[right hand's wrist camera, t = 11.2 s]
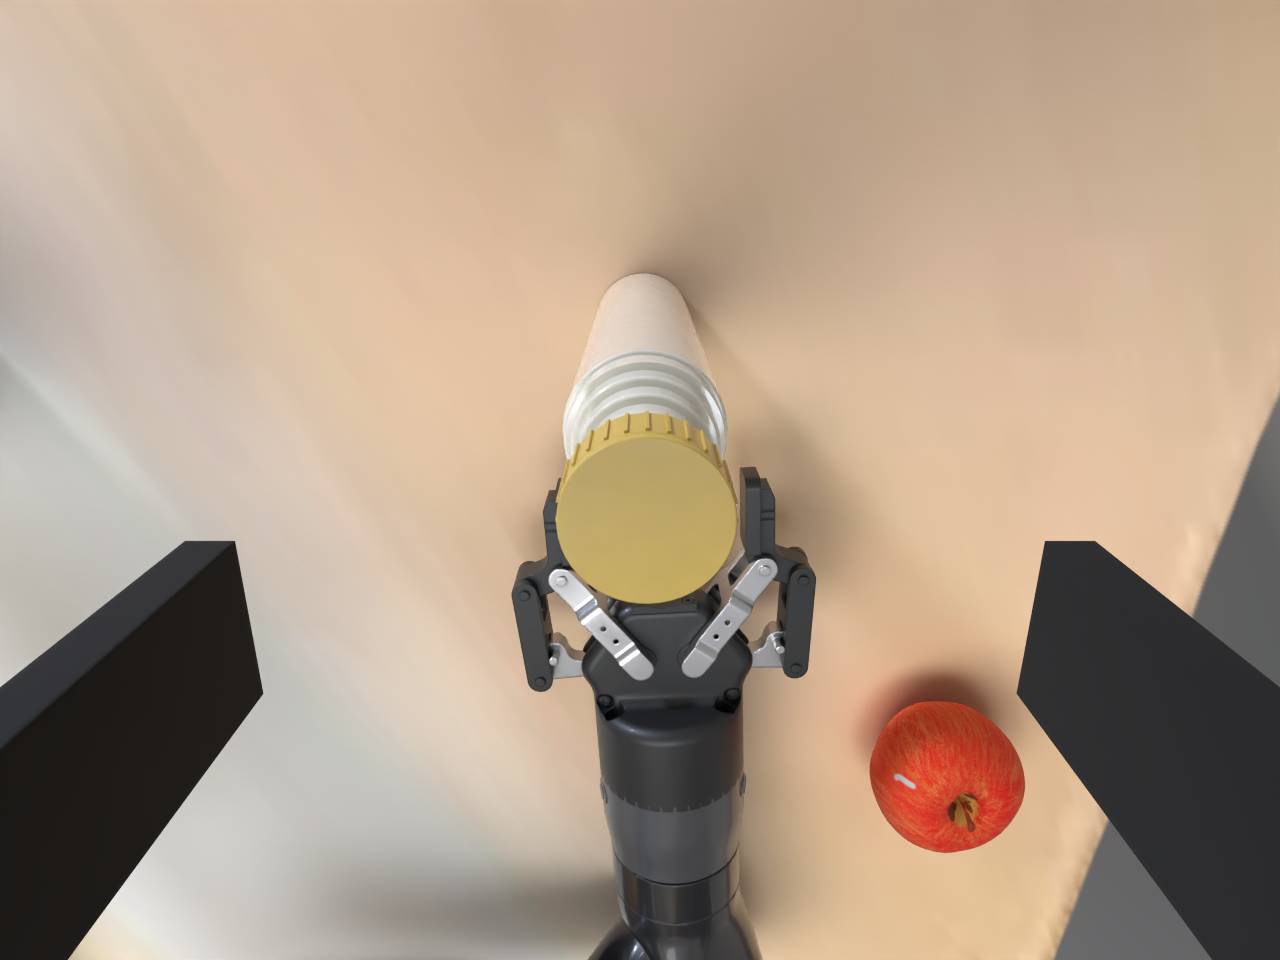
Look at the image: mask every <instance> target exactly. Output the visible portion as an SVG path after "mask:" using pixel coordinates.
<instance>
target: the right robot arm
mask: <svg viewBox="0 0 1280 960" xmlns="http://www.w3.org/2000/svg"><path fill="white" fill-rule="evenodd" d="M262 695H263V690H262V684H261V679H260V673H259V668H258V663H257V657H256V652H255V647H254V641H253V636H252V630H251V625H250V620H249V614H248V609H247V603H246V598H245V593H244V587H243V582H242V577H241V571H240V566H239V560H238V555H237V550H236V544H235V541H185V542H183V543H182V544H181V545H179V546H178V547H177V548H176V549H174V550H173V551H172V552H171V553H169V554H168V555H167V556H166V557H164V558H163V559H162V560H161V561H159V562H158V563H157V564H155V565H154V566H153V567H152V568H150V569H149V570H148V571H147V572H145V573H144V574H143V575H142V576H140V577H139V578H138V579H137V580H135V581H134V582H133V583H131V584H130V585H129V586H128V587H126V588H125V589H124V590H123V591H121V592H120V593H119V594H118V595H116V596H115V597H114V598H113V599H111V600H110V601H109V602H107V603H106V604H105V605H104V606H102V607H101V608H100V609H99V610H97V611H96V612H95V613H94V614H92V615H91V616H90V617H89V618H87V619H86V620H85V621H83V622H82V623H81V624H80V625H78V626H77V627H76V628H75V629H73V630H72V631H71V632H70V633H68V634H67V635H66V636H65V637H63V638H62V639H61V640H59V641H58V642H57V643H56V644H54V645H53V646H52V647H51V648H49V649H48V650H47V651H46V652H44V653H43V654H42V655H41V656H39V657H38V658H37V659H35V660H34V661H33V662H32V663H30V664H29V665H28V666H27V667H25V668H24V669H23V670H22V671H20V672H19V673H18V674H17V675H15V676H14V677H13V678H11V679H10V680H9V681H8V682H6V683H5V684H4V685H3V686H1V687H0V960H68V959H69V957H70V956H71V954H72V953H73V952H74V950H75V949H76V948H77V946H78V945H79V944H80V942H81V941H82V940H83V938H84V937H85V935H86V934H87V933H88V931H89V930H90V929H91V927H92V926H93V925H94V923H95V922H96V920H97V919H98V918H99V916H100V915H101V914H102V912H103V911H104V910H105V908H106V907H107V906H108V904H109V903H110V901H111V900H112V899H113V897H114V896H115V895H116V893H117V892H118V891H119V889H120V888H121V886H122V885H123V884H124V882H125V881H126V880H127V878H128V877H129V876H130V874H131V873H132V871H133V870H134V869H135V867H136V866H137V865H138V863H139V862H140V861H141V859H142V858H143V857H144V855H145V854H146V852H147V851H148V850H149V848H150V847H151V846H152V844H153V843H154V842H155V840H156V839H157V837H158V836H159V835H160V833H161V832H162V831H163V829H164V828H165V827H166V825H167V824H168V823H169V821H170V820H171V818H172V817H173V816H174V814H175V813H176V812H177V810H178V809H179V808H180V806H181V805H182V803H183V802H184V801H185V799H186V798H187V797H188V795H189V794H190V793H191V791H192V790H193V788H194V787H195V786H196V784H197V783H198V782H199V780H200V779H201V778H202V776H203V775H204V774H205V772H206V771H207V769H208V768H209V767H210V765H211V764H212V763H213V761H214V760H215V759H216V757H217V756H218V754H219V753H220V752H221V750H222V749H223V748H224V746H225V745H226V744H227V742H228V741H229V739H230V738H231V737H232V735H233V734H234V733H235V731H236V730H237V729H238V727H239V726H240V725H241V723H242V722H243V720H244V719H245V718H246V716H247V715H248V714H249V712H250V711H251V710H252V708H253V707H254V705H255V704H256V703H257V701H258V700H259V699H260V697H261V696H262ZM1017 695H1018V696H1019V697H1020V699H1021V700H1022V701H1023V703H1024V704H1025V705H1026V707H1027V708H1028V710H1029V711H1030V712H1031V714H1032V715H1033V716H1034V718H1035V719H1036V720H1037V722H1038V723H1039V725H1040V726H1041V727H1042V729H1043V730H1044V731H1045V733H1046V734H1047V735H1048V737H1049V738H1050V740H1051V741H1052V742H1053V744H1054V745H1055V746H1056V748H1057V749H1058V750H1059V752H1060V753H1061V754H1062V756H1063V757H1064V759H1065V760H1066V761H1067V763H1068V764H1069V765H1070V767H1071V768H1072V769H1073V771H1074V772H1075V774H1076V775H1077V776H1078V778H1079V779H1080V780H1081V782H1082V783H1083V784H1084V786H1085V787H1086V788H1087V790H1088V791H1089V793H1090V794H1091V795H1092V797H1093V798H1094V799H1095V801H1096V802H1097V803H1098V805H1099V806H1100V808H1101V809H1102V810H1103V812H1104V813H1105V814H1106V816H1107V817H1108V818H1109V820H1110V821H1111V823H1112V824H1113V825H1114V827H1115V828H1116V829H1117V831H1118V832H1119V833H1120V835H1121V836H1122V837H1123V839H1124V840H1125V842H1126V843H1127V844H1128V846H1129V847H1130V848H1131V850H1132V851H1133V852H1134V854H1135V855H1136V857H1137V858H1138V859H1139V861H1140V862H1141V863H1142V865H1143V866H1144V867H1145V869H1146V870H1147V871H1148V873H1149V874H1150V876H1151V877H1152V878H1153V880H1154V881H1155V882H1156V884H1157V885H1158V886H1159V888H1160V889H1161V890H1162V892H1163V893H1164V895H1165V896H1166V897H1167V899H1168V900H1169V901H1170V903H1171V904H1172V906H1173V907H1174V908H1175V910H1176V911H1177V912H1178V914H1179V915H1180V916H1181V918H1182V919H1183V920H1184V922H1185V923H1186V925H1187V926H1188V927H1189V929H1190V930H1191V931H1192V933H1193V934H1194V935H1195V937H1196V938H1197V940H1198V941H1199V942H1200V944H1201V945H1202V946H1203V948H1204V949H1205V950H1206V952H1207V953H1208V955H1209V956H1210V957H1211V959H1212V960H1280V687H1279V686H1277V685H1276V684H1275V683H1274V682H1272V681H1271V680H1270V679H1268V678H1267V677H1266V676H1265V675H1263V674H1262V673H1261V672H1260V671H1258V670H1257V669H1256V668H1255V667H1253V666H1252V665H1251V664H1250V663H1248V662H1247V661H1246V660H1244V659H1243V658H1242V657H1241V656H1239V655H1238V654H1237V653H1236V652H1234V651H1233V650H1232V649H1231V648H1229V647H1228V646H1227V645H1226V644H1224V643H1223V642H1222V641H1220V640H1219V639H1218V638H1217V637H1215V636H1214V635H1213V634H1212V633H1210V632H1209V631H1208V630H1207V629H1205V628H1204V627H1203V626H1202V625H1200V624H1199V623H1198V622H1196V621H1195V620H1194V619H1193V618H1191V617H1190V616H1189V615H1188V614H1186V613H1185V612H1184V611H1183V610H1181V609H1180V608H1179V607H1178V606H1176V605H1175V604H1174V603H1172V602H1171V601H1170V600H1169V599H1167V598H1166V597H1165V596H1164V595H1162V594H1161V593H1160V592H1159V591H1157V590H1156V589H1155V588H1154V587H1152V586H1151V585H1150V584H1148V583H1147V582H1146V581H1145V580H1143V579H1142V578H1141V577H1140V576H1138V575H1137V574H1136V573H1135V572H1133V571H1132V570H1131V569H1130V568H1128V567H1127V566H1126V565H1124V564H1123V563H1122V562H1121V561H1119V560H1118V559H1117V558H1116V557H1114V556H1113V555H1112V554H1111V553H1109V552H1108V551H1107V550H1106V549H1104V548H1103V547H1102V546H1100V545H1099V544H1098V543H1097V542H1095V541H1045V544H1044V550H1043V555H1042V560H1041V566H1040V571H1039V576H1038V582H1037V587H1036V593H1035V598H1034V603H1033V609H1032V614H1031V620H1030V625H1029V630H1028V636H1027V641H1026V646H1025V652H1024V657H1023V663H1022V668H1021V673H1020V679H1019V684H1018V690H1017Z"/></svg>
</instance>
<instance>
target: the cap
mask: <svg viewBox="0 0 1280 960" xmlns="http://www.w3.org/2000/svg"><path fill="white" fill-rule="evenodd" d="M556 502H557V503H558V506H557V513H556V518H555V522H556V528H557V534H558V539H559V542H560V546H561V549H562V551H563V553H564V555H565V557H566V559H567V561H568V562H569V564H570V565H571V567H572V568H573V569H574V570H575V572H576V573H577V574H578V575H579V576H580V577H581V578H582V579H583V580H584V581H585V582H586V583H588V584H589V585H590V586H592V587H593V588H595V589H596V590H598V591H600V592H602V593H603V594H605V595H608V596H610V597H613V598H615V599H618V600H622V601H626V602H632V603H641V604H652V603H662V602H667V601H671V600H675V599H678V598H681V597H683V596H685V595H688V594H690V593H692V592H694V591H695V590H697V589H698V588H700V587H702V586H703V585H704V584H705V583H707V582H708V581H709V580H710V579H711V578H712V577H713V576H714V575H715V574H716V573H717V572H718V571H719V570H720V568H721V567H722V565H723V564H724V563H725V561H726V559H727V557H728V556H729V554H730V552H731V549H732V546H733V544H734V541H735V536H736V531H737V523H738V519H737V508H736V504H737V503H738V502H737V498H736V494H735V491H734V488H733V483H732V480H731V476H730V473H729V470H728V466H727V463H726V461H725V460H724V461H723V460H722V458H721V457H720V453H719V450H718V446H717V445H716V444H714V445H713V444H712V443H711V441H710V440H709V439H708V438H707V437H706V436H705V432H704V431H703V430H701V431H699V430H698V429H696V428H695V427H693V426H692V425H690V424H689V423H688V420H686V419H684V421H682V420H680V419H677V418H675V417H671V416H669V413H665V415H664V414H657V413H649V410H645V413H636V414H629V413H628V412H627V413H625V416H621V417H618V418H615V419H613V420H610V419H607V420H606V422H605V424H603V425H601V426H599V427H598V428H597V429H595V430H594V431H593V429H591V430H590V431H589V434H588V436H587V437H586V438H585V439H584V440H583V441H582V442H581V444H579V443H577V444H576V447H575V451H574V454H573V455H572V457H571V460H569V459H568V460H567V462H566V466H565V469H564V473H563V477H562V479H561V483H560V487H559V490H558V494H557V498H556Z"/></svg>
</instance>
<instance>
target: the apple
mask: <svg viewBox="0 0 1280 960" xmlns="http://www.w3.org/2000/svg"><path fill="white" fill-rule="evenodd" d="M870 779H871V785H872V789H873V792H874V795H875V798H876V801H877V803H878V805H879V807H880V809H881V811H882V813H883V815H884V816H885V818H886V820H887V821H888V822H889V824H890V825H891V826H892V827H893V828H894V829H895V830H896V831H897V832H898V833H899V834H900V835H901V836H902V837H904V838H905V839H906V840H908V841H909V842H911V843H913V844H914V845H917V846H919V847H921V848H924V849H927V850H931V851H935V852H942V853H951V852H958V851H963V850H969V849H972V848H975V847H978V846H981V845H983V844H985V843H987V842H989V841H990V840H992V839H993V838H995V837H996V836H998V835H999V834H1000V833H1001V832H1002V831H1003V830H1004V829H1005V828H1006V827H1007V826H1008V825H1009V824H1010V822H1011V821H1012V820H1013V818H1014V817H1015V815H1016V813H1017V812H1018V810H1019V808H1020V806H1021V804H1022V800H1023V797H1024V791H1025V779H1024V772H1023V768H1022V764H1021V762H1020V759H1019V756H1018V754H1017V752H1016V750H1015V748H1014V747H1013V745H1012V743H1011V742H1010V741H1009V739H1008V738H1007V737H1006V735H1005V734H1004V733H1003V732H1002V731H1001V730H1000V729H999V728H998V727H997V726H996V725H995V724H994V723H993V722H992V721H990V720H989V719H988V718H987V717H985V716H984V715H982V714H981V713H979V712H978V711H976V710H974V709H972V708H970V707H968V706H965V705H962V704H959V703H954V702H942V701H928V702H920V703H916V704H913V705H911V706H909V707H907V708H905V709H903V710H902V711H900V712H899V713H898V714H897V715H895V716H894V717H893V718H892V720H891V721H890V722H889V723H888V724H887V725H886V727H885V728H884V730H883V731H882V733H881V735H880V737H879V739H878V741H877V743H876V745H875V748H874V750H873V753H872V757H871V762H870Z"/></svg>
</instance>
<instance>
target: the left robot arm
mask: <svg viewBox="0 0 1280 960" xmlns="http://www.w3.org/2000/svg"><path fill="white" fill-rule="evenodd" d="M561 479H562V478H559V479H558V483H557V487H556V490H549V493H548V496H547V499H546V502H545V506H544V510H543V517H544V527H545V536H546V546H547V556H546V557H545V558H544V559H542V560H539V561H537V562H533V561H527V562H524V563H523V564H521V565H520V567H519V570H518V573H517V576H516V580H515V583H514V587H513V590H512V600H513V606H514V611H515V616H516V621H517V627H518V632H519V637H520V643H521V648H522V653H523V658H524V664H525V669H526V674H527V680H528V684H529V686H530V687H531V688H532V689H533V690H535V691H538V692H543V691H546V690H548V689H549V688H550V687H551V686H552V682H553V679H560V678H570V677H580V676H584V677H585V679H586V680H587V681H588V683H589V684H590V685H591V687H592V689H593V692H594V697H595V709H596V721H597V733H598V744H599V756H600V768H601V780H600V790H601V795H602V798H603V802H604V810H605V815H606V820H607V824H608V827H609V831H610V835H611V842H612V852H613V864H614V877H615V889H616V895H617V900H618V904H619V909H620V912H621V915H622V918H621V919H620V920H618V921H617V923H616V924H615V925H614V926H613V927H612V928H611V929H610V931H609V932H608V933H607V934H606V936H605V937H604V938H603V940H602V941H601V942H600V944H599V945H598V946H597V948H596V949H595V950H594V952H593V953H592V954H591V956H590V957H589V958H588V960H763V959H762V955H761V952H760V949H759V945H758V942H757V939H756V935H755V932H754V929H753V925H752V922H751V919H750V915H749V913H748V910H747V908H746V905H745V903H744V900H743V897H742V895H741V892H740V864H739V835H740V825H741V820H742V812H743V801H744V792H745V783H746V776H745V773H744V771H743V693H742V688H743V682H744V680H745V677H746V676H747V674H748V672H749V671H750V669H751V668H783V670H784V673H785V674H786V675H787V676H788V677H790V678H799V677H802V676H803V675H804V674H805V673H806V672H807V670H808V662H809V651H810V640H811V629H812V618H813V607H814V596H815V585H816V576H815V574H814V572H813V570H812V568H811V567H810V565H809V563H808V560H807V557H806V554H805V552H804V551H803V550H802V549H801V548H799V547H790V548H784V547H781V546H778V545H776V544H775V497H774V495H773V493H772V491H771V488H770V486H769V484H768V482H767V479H766V478H762V479H760V477H759V474H758V472H757V470H756V467H744V468H740V534H741V540H742V543H743V546H744V547H743V548H742V550H741V551H740V552H739V554H738V555H737V556H736V557H735V559H734V560H733V561H732V562H731V564H730V565H729V566H728V567H725V568H723V569H721V571H720V572H719V573H718V574H717V576H716V577H715V578H714V579H713V581H712V582H711V583H710V584H709V586H708V587H707V588H706V589H705V591H702V590H699V589H697V590H695V591H694V592H692V593H690V594H688V595H685V596H683V597H681V598H678V599H675V600H671V601H667V602H662V603H652V604H641V603H632V602H626V601H622V600H618V599H615V598H613V597H610V596H608V595H605V594H603V593H602V592H600V591H598V590H596V589H595V588H593V587H592V586H590V585H589V584H588V583H586V582H585V581H584V580H583V579H582V578H581V577H580V576H579V575H578V574H577V573H576V572H575V570H574V569H573V568H572V567H571V565H570V564H569V562H568V561H567V559H566V557H565V555H564V553H563V551H562V549H561V546H560V542H559V539H558V534H557V528H556V522H555V518H556V513H557V506H558V503H557V502H556V498H557V494H558V490H559V487H560V483H561ZM772 580H775V581H778V582H780V584H779V597H778V611H777V622H775V621H771V622H769V624H768V625H767V626H766V627H765V628H764V630H763V634H762V636H761V637H760V638H759V639H758V640H757V641H754V642H749V641H748V639H747V637H746V636H745V635H744V633H743V632H742V631H741V630H740V629H739V627H740V626H741V625H742V623H743V622H744V621H745V620H746V619H747V617H748V616H749V615H750V613H751V611H752V608H753V604H754V602H755V601H756V599H757V598H758V597H759V596H760V594H761V593H762V592H763V591H764V590H765V588H766V587H767V586H768V585H769V583H770V582H771V581H772ZM554 591H555V592H556V593H557V594H558V595H559V596H560V597H561V598H562V599H563V600H564V601H565V602H566V603H567V604H568V605H569V606H570V607H571V608H572V609H573V610H574V611H575V613H576V615H577V617H578V619H579V621H580V623H581V624H582V625H583V626H584V627H585V628H586V629H587V630H588V631H589V632H590V633H591V634H592V636H591V637H590V639H589V640H588V641H587V643H586V644H585V646H584V649H583V651H578V650H575V649H573V648H572V647H571V646H570V645H569V643H568V640H567V639H566V637H564V636H563V635H562V634H561V633H559V632H556V633H554V634H553V629H552V624H551V618H550V612H549V606H548V600H547V594H549V593H552V592H554Z"/></svg>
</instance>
